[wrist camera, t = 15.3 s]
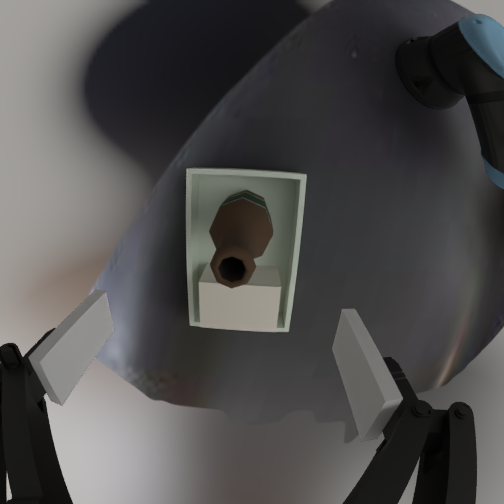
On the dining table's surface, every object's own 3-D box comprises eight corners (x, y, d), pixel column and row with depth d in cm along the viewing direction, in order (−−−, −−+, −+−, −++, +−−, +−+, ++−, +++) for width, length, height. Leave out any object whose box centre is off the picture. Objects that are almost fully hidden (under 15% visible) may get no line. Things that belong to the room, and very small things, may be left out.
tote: (300, 172, 43) (306, 174, 37) (285, 313, 51) (288, 331, 45) (195, 167, 43) (186, 168, 37) (196, 308, 51) (189, 325, 46)
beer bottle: (221, 234, 45) (185, 309, 23) (222, 187, 43) (181, 219, 20) (268, 237, 45) (277, 315, 23) (271, 190, 43) (286, 224, 20)
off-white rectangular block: (277, 266, 47) (281, 287, 39) (273, 307, 50) (276, 332, 42) (208, 262, 47) (198, 281, 39) (208, 302, 50) (200, 327, 42)
